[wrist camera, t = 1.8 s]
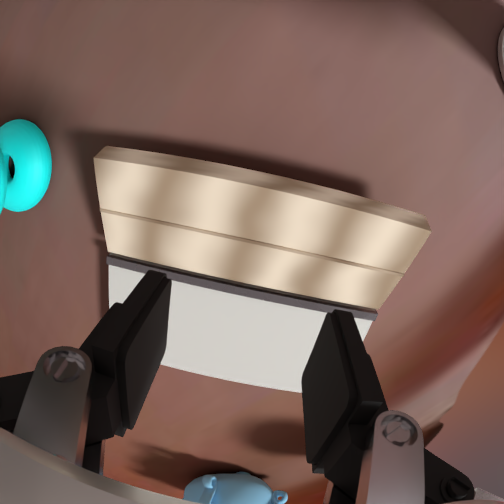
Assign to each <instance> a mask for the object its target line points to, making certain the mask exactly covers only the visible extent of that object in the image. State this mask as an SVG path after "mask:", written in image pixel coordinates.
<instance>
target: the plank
mask: <svg viewBox="0 0 504 504" xmlns="http://www.w3.org/2000/svg"><path fill="white" fill-rule="evenodd" d="M94 167H95V175H96V183H97V190H98V197H99V204H100V212H101V216H102V222H103V228H104V233H105V238H106V244H107V249H108V252H112V253H116V254H120V255H124V256H128V257H132V258H136V259H141V260H145V261H149V262H153V263H158V264H162V265H166V266H170V267H175V268H179V269H184V270H188V271H192V272H197V273H201V274H206V275H210V276H215V277H219V278H224V279H229V280H233V281H238V282H242V283H247V284H252V285H257V286H261V287H266V288H271V289H276V290H281V291H286V292H291V293H296V294H301V295H306V296H311V297H316V298H321V299H326V300H331V301H336V302H342V303H347V304H352V305H358V306H363V307H368V308H374V309H379V308H380V307H381V305H382V304H383V303H384V301H385V300H386V299H387V297H388V296H389V294H390V293H391V292H392V290H393V289H394V287H395V286H396V285H397V283H398V282H399V280H400V279H401V277H403V276H404V273H405V272H406V270H407V269H408V267H409V266H410V264H411V263H412V261H413V260H414V258H415V257H416V255H417V254H418V252H419V251H420V249H421V247H422V246H423V244H424V243H425V241H426V240H427V238H428V236H429V235H430V233H431V232H432V231H431V229H430V226H429V224H428V221H427V219H426V217H425V215H422V214H419V213H415V212H412V211H409V210H406V209H403V208H399V207H396V206H393V205H389V204H386V203H382V202H379V201H375V200H372V199H368V198H365V197H361V196H358V195H354V194H350V193H347V192H343V191H339V190H335V189H331V188H327V187H323V186H319V185H315V184H311V183H307V182H303V181H299V180H295V179H290V178H286V177H282V176H277V175H273V174H268V173H264V172H259V171H254V170H250V169H245V168H240V167H235V166H230V165H225V164H220V163H214V162H209V161H204V160H198V159H192V158H186V157H181V156H175V155H168V154H162V153H156V152H149V151H142V150H135V149H128V148H120V147H112V146H105V147H104V148H103V149H102V150H101V151H100V152H99V153H98V154H97V155H96V156H95V157H94Z"/></svg>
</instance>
